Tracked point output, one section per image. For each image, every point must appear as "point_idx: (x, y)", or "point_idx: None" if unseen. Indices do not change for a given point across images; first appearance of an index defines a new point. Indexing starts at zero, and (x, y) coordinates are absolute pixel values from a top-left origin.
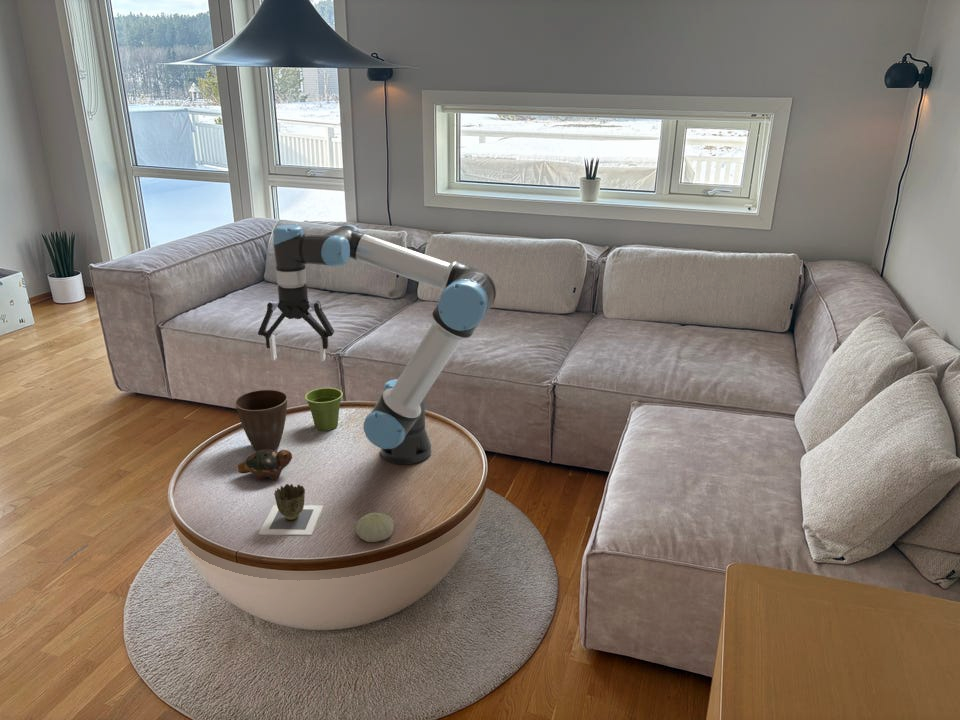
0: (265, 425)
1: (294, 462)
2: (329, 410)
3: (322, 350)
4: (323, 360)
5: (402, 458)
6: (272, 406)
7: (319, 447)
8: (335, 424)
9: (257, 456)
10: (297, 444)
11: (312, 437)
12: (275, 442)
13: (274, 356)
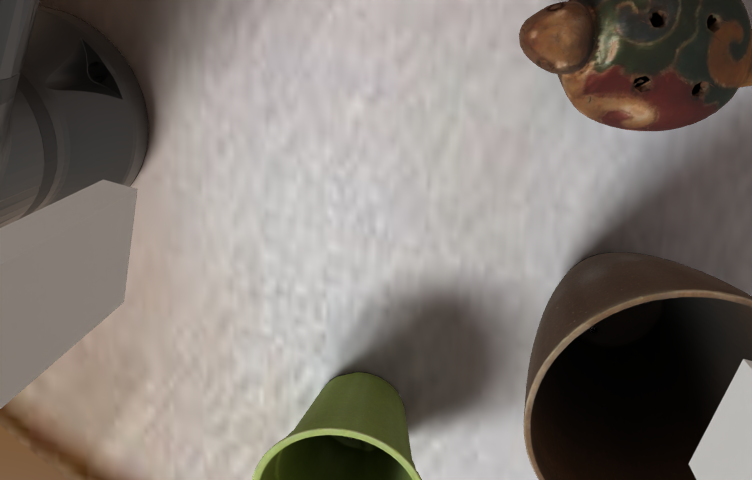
0: (646, 265)
1: (502, 138)
2: (326, 413)
3: (6, 226)
4: (96, 184)
5: (44, 11)
6: (592, 459)
7: (394, 244)
8: (322, 390)
9: (700, 19)
10: (481, 292)
11: (419, 335)
12: (579, 265)
13: (747, 414)
